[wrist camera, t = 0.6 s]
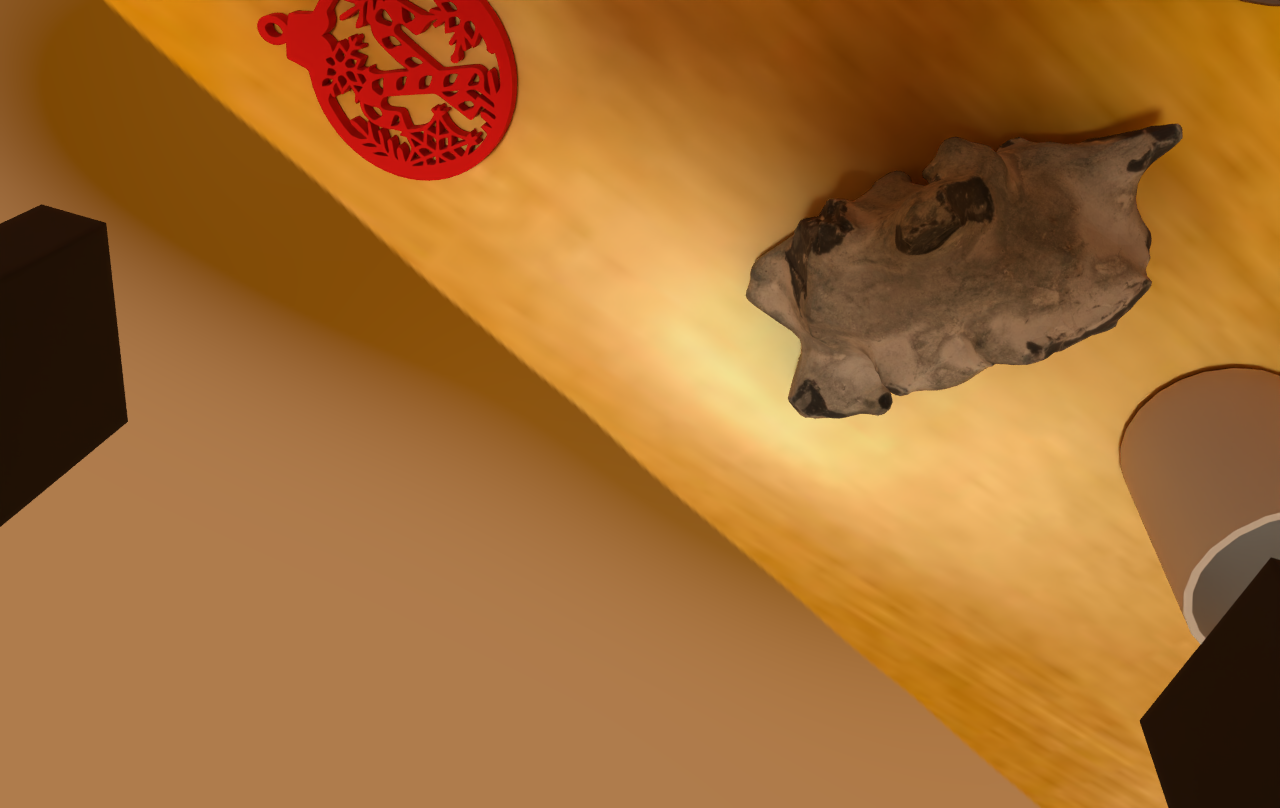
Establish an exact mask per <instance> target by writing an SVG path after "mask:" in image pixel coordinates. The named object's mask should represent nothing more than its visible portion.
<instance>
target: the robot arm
mask: <svg viewBox="0 0 1280 808" xmlns="http://www.w3.org/2000/svg"><path fill="white" fill-rule="evenodd" d="M127 422H128V418H127V409H126V400H125V392H124V383H123V373H122V364H121V354H120V346H119V337H118V327H117V318H116V309H115V300H114V291H113V282H112V272H111V264H110V255H109V245H108V237H107V227H106V223H104V222H101V221H98V220H94V219H90V218H87V217H83V216H80V215H76V214H73V213H70V212H66V211H63V210H59V209H56V208H52V207H49V206H45V205H40V206H37V207H35V208H33V209H31V210H29V211H27V212H24V213H22V214H20V215H18V216H16V217H14V218H12V219H10V220H7V221H5V222H3V223H1V224H0V527H1V526H2V525H3V524H4V523H5V522H7V521H8V520H9V519H10V518H12V517H13V516H14V515H15V514H17V513H18V512H19V511H20V510H21V509H23V508H24V507H25V506H26V505H27V504H29V503H30V502H31V501H32V500H33V499H35V498H36V497H37V496H38V495H40V494H41V493H42V492H43V491H44V490H46V489H47V488H48V487H49V486H50V485H52V484H53V483H54V482H55V481H56V480H58V479H59V478H60V477H61V476H63V475H64V474H65V473H66V472H67V471H69V470H70V469H71V468H72V467H73V466H75V465H76V464H77V463H78V462H80V461H81V460H82V459H83V458H84V457H86V456H87V455H88V454H89V453H90V452H92V451H93V450H94V449H95V448H96V447H98V446H99V445H100V444H101V443H102V442H104V441H105V440H106V439H107V438H109V437H110V436H111V435H112V434H113V433H115V432H116V431H117V430H118V429H119V428H120V427H122V426H123V425H124V424H126V423H127ZM1140 724H1141V727H1142V730H1143V733H1144V736H1145V739H1146V742H1147V745H1148V748H1149V751H1150V754H1151V757H1152V760H1153V763H1154V766H1155V769H1156V772H1157V775H1158V778H1159V781H1160V784H1161V787H1162V790H1163V793H1164V796H1165V799H1166V802H1167V805H1168V808H1280V560H1279V559H1276V558H1272V557H1271V558H1270V559H1269V560H1268V561H1267V563H1266V564H1265V565H1264V566H1263V568H1262V569H1261V570H1260V571H1259V573H1258V574H1257V575H1256V576H1255V578H1254V579H1253V580H1252V581H1251V583H1250V584H1249V585H1248V586H1247V588H1246V589H1245V590H1244V591H1243V593H1242V594H1241V595H1240V596H1239V597H1238V599H1237V600H1236V601H1235V602H1234V604H1233V605H1232V606H1231V607H1230V609H1229V610H1228V611H1227V612H1226V614H1225V615H1224V616H1223V617H1222V619H1221V620H1220V621H1219V622H1218V624H1217V625H1216V626H1215V627H1214V629H1213V630H1212V631H1211V632H1210V634H1209V635H1208V636H1207V637H1206V639H1205V640H1204V641H1203V642H1202V644H1201V645H1200V646H1199V647H1198V649H1197V650H1196V651H1195V652H1194V653H1193V655H1192V656H1191V657H1190V658H1189V660H1188V661H1187V662H1186V663H1185V665H1184V666H1183V667H1182V668H1181V670H1180V671H1179V672H1178V673H1177V675H1176V676H1175V677H1174V678H1173V680H1172V681H1171V682H1170V683H1169V685H1168V686H1167V687H1166V688H1165V690H1164V691H1163V692H1162V693H1161V695H1160V696H1159V697H1158V698H1157V700H1156V701H1155V702H1154V703H1153V705H1152V706H1151V707H1150V708H1149V709H1148V711H1147V712H1146V713H1145V714H1144V716H1143V717H1142V718H1141V719H1140Z"/></svg>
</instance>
